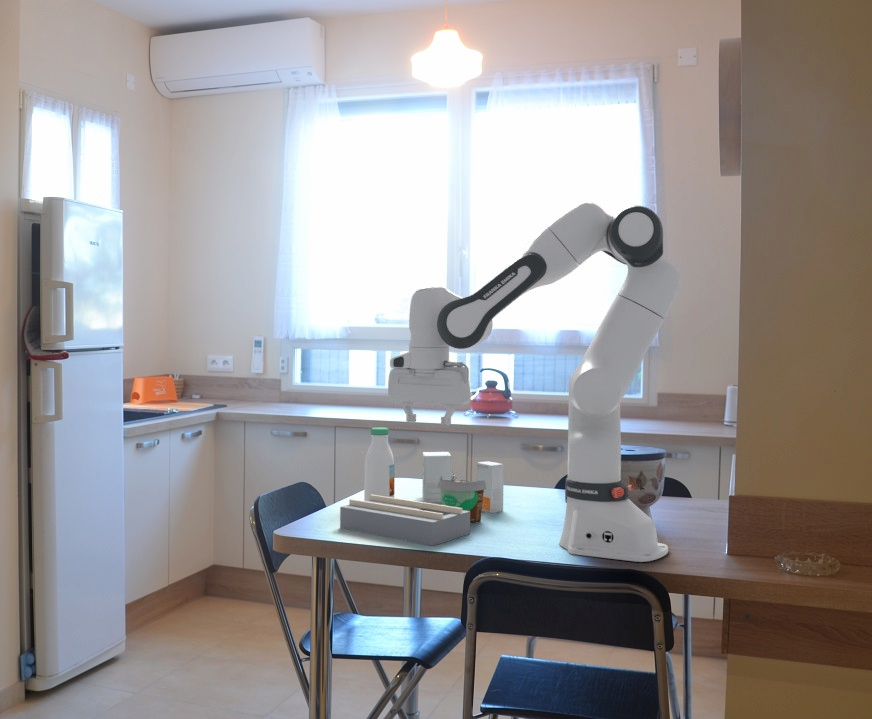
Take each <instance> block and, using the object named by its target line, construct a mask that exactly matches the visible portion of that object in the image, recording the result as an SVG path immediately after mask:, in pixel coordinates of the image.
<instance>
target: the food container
mask: <svg viewBox="0 0 872 719" xmlns="http://www.w3.org/2000/svg"><path fill="white" fill-rule="evenodd" d="M456 480H457V481H449V480H443V477H442V476H441V477H440V479H439V480H438V485H437V487H438V488H440V493H441V502H440V503H441V504H440V505H445V506H451V507H458V508H462V510H465V511H470V523H472V524H477V523H476V522H478V523H480V521H481V520H482V512H483V511H482V503H483V493H484V490H485V489H486V483H485V480H483V481H477V480H476V481H477V482H476V481H468V480H463V479H461V480H459V479H456Z"/></svg>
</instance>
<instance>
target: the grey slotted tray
mask: <svg viewBox="0 0 872 719" xmlns="http://www.w3.org/2000/svg"><path fill="white" fill-rule="evenodd" d="M339 514H340V517H339V518H340V519H339V524H340V525H339V527H340V529H345V530H350V531H355V532H359V533H365V534H369V535H376V536H380V537H386V538H389V539H394V538H395V540H400V541H404V540H406V541H405V542H409V541H410V543H414V542H415V544H419V543H420V545H426V546H429V547H430V546H432V547H434V546H438V545H440V544H444V543H446V542H450V541H452V540H455V538H456V539H458V537H459V538H461V537H460V536H462V537H464V536H463V535H465V536H467V535H466V534H468V535H470V534H471V524H470V511H465V510H462V508H458V507H451V506H445V505H441V504H438V503H432V502H424V501H417V500H411V499H406V498H405V499H404V498H398V497H397V498H396V497H394V498H391V497H385V496H378V495H372V494H371V495H370V500H367V501H364V500H360V499H354V498H353V499H352V498H351V499H349V502H348V504H347V505H342V506H339Z"/></svg>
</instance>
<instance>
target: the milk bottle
mask: <svg viewBox="0 0 872 719" xmlns="http://www.w3.org/2000/svg"><path fill="white" fill-rule="evenodd" d="M389 430H390V429H389V428H388V427H381V426H380V427H379V426H378V427H371V428H370V437H371V441H370V445H369V447H368V449H367V452H366V454H365V458H364V480H363V481H364V484H363V486H364V488H363V489H364V491H363V492H364V495H363V496H364V499H363V501H367V500H370V495H371V494H372V495H378V496H385V497H391V498H395V457H394V453H393V452H392V451H393V450H392V448H391V447H390V443H389V441H388V440H389V439H388V437H389V434H390V431H389Z"/></svg>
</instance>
